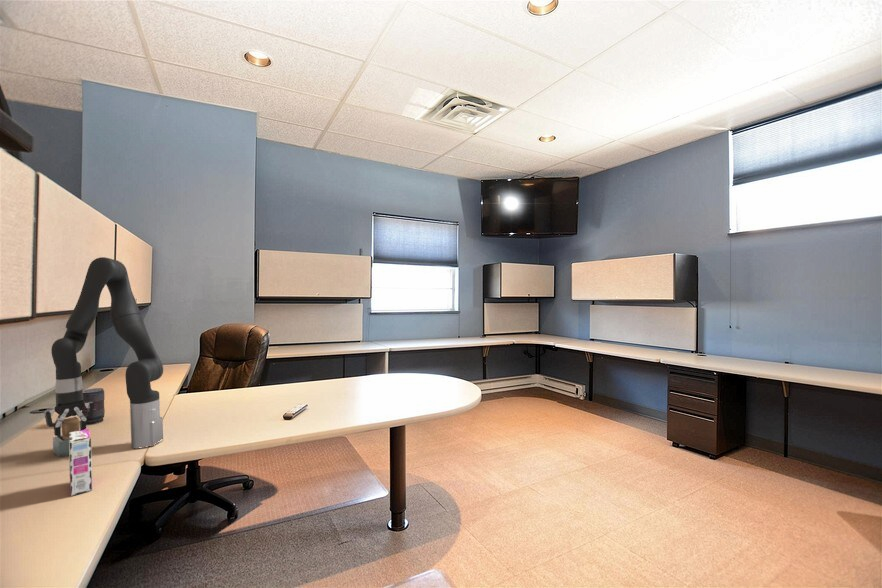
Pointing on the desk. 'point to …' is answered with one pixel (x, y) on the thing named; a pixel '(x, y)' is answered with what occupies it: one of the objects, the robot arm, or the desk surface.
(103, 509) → the desk surface
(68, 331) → the robot arm
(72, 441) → the candy bar box
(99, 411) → the camera lens
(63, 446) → the slate open square box
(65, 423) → the tan wooden block
